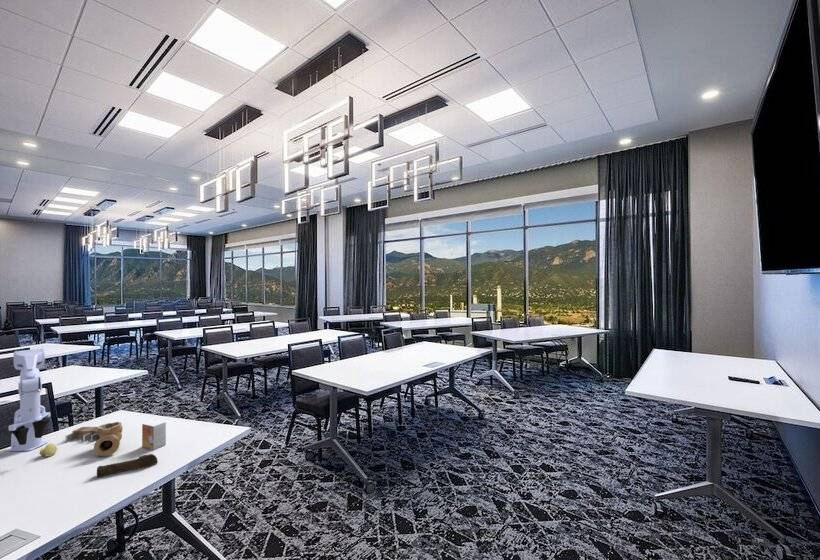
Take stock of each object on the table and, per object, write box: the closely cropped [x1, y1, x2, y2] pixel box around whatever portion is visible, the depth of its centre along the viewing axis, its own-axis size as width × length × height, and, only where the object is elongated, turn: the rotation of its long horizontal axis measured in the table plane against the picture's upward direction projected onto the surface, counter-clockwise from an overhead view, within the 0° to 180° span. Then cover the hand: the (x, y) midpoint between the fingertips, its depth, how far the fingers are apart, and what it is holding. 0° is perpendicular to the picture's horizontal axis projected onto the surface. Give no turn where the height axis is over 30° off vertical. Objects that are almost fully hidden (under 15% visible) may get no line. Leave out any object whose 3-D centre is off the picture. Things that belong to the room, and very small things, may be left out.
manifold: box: [64, 426, 100, 443], centre depth 171 cm, size 18×9×4 cm, turn 90°
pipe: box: [93, 421, 123, 457], centre depth 159 cm, size 9×16×10 cm, turn 35°
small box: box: [141, 419, 167, 451], centre depth 162 cm, size 8×6×10 cm
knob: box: [39, 442, 58, 457], centre depth 154 cm, size 5×5×5 cm
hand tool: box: [96, 453, 158, 478], centre depth 141 cm, size 19×4×5 cm, turn 116°
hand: (30, 441), depth 147 cm, fingers open, 6 cm apart
